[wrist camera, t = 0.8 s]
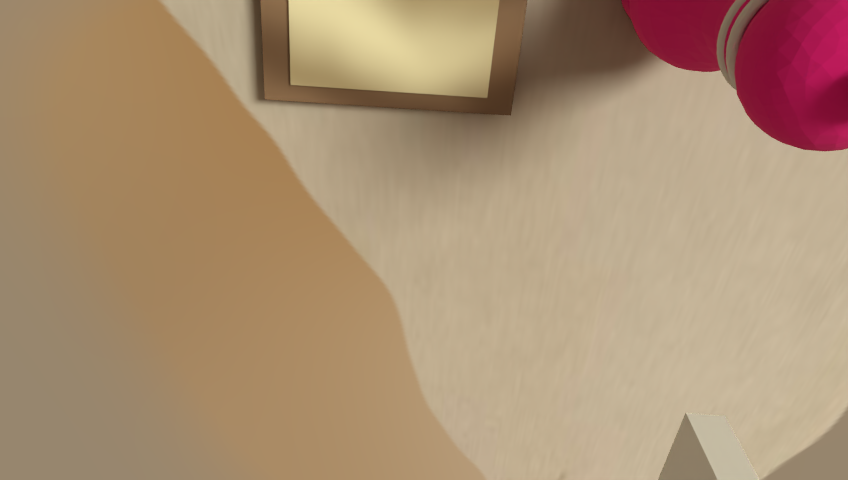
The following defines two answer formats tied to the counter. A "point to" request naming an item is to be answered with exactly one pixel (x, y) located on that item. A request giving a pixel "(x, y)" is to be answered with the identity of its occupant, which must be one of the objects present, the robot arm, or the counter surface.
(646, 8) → the pepper mill
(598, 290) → the counter surface
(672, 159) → the counter surface
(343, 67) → the clipboard
